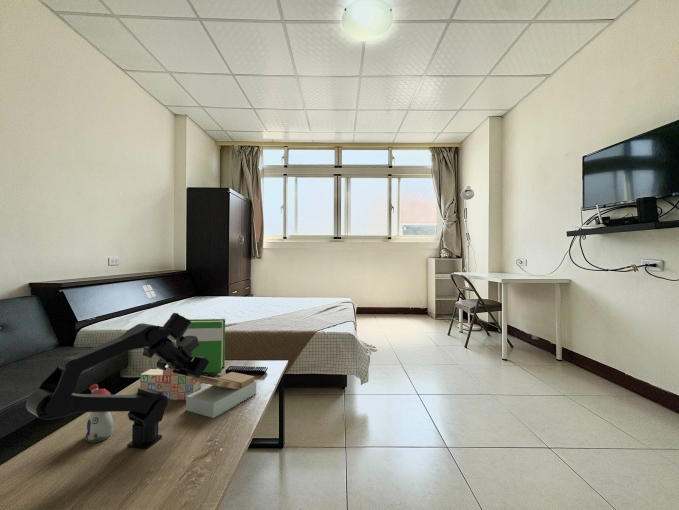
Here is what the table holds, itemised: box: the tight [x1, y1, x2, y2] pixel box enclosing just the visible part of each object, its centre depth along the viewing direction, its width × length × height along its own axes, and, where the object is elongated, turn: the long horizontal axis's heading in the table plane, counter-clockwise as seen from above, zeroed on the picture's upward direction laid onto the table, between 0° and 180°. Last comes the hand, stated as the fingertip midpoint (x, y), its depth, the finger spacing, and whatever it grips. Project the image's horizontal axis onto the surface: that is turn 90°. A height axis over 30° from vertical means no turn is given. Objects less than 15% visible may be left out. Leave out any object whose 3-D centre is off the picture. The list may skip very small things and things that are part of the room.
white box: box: [185, 371, 257, 419], centre depth 121 cm, size 22×13×7 cm, turn 155°
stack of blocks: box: [139, 364, 202, 401], centre depth 126 cm, size 21×6×12 cm, turn 86°
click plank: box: [192, 375, 240, 389], centre depth 118 cm, size 12×12×2 cm
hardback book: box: [183, 318, 226, 373], centre depth 156 cm, size 18×7×24 cm, turn 97°
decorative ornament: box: [84, 383, 114, 444], centre depth 97 cm, size 9×6×15 cm
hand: (197, 375), depth 110 cm, fingers closed
